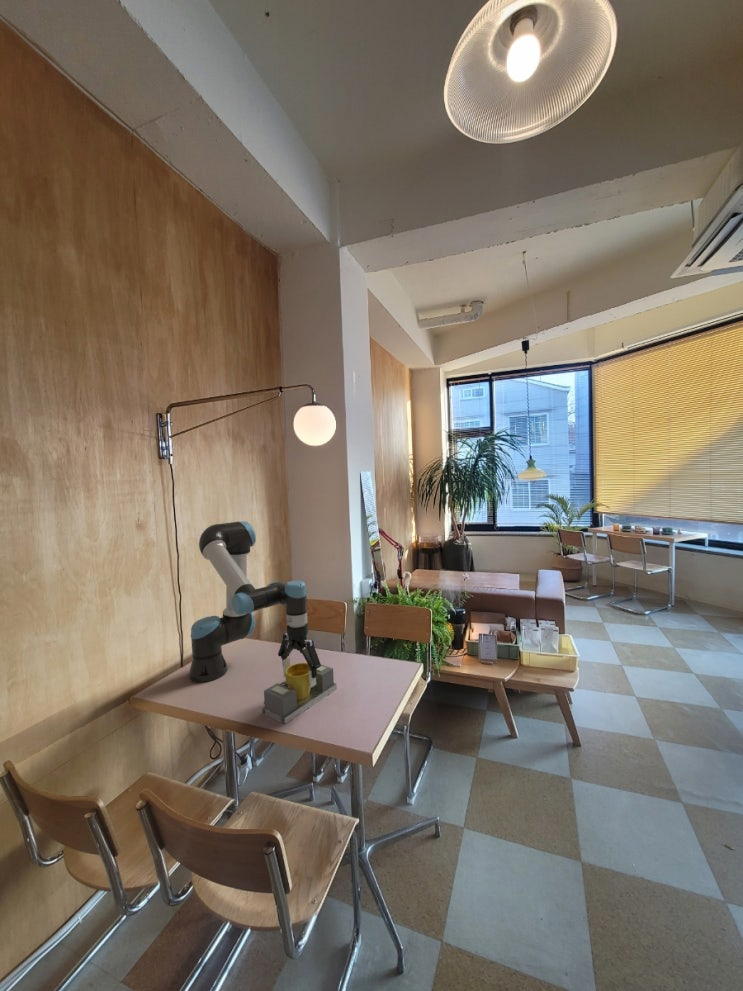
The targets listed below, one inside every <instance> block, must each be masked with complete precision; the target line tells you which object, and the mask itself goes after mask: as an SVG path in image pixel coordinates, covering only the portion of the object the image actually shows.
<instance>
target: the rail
mask: <svg viewBox="0 0 743 991" xmlns="http://www.w3.org/2000/svg"><path fill="white" fill-rule="evenodd" d="M337 689H338V686H337V683H335V682H334V684H332V685H331V686H329V687H328V688H326V689H325V690H320V689H317V688H314V687H311V689H310V694H309V696H308V697H306V698H305V699H301V700H297V708H296V709H294V710H293V711H291V712H290V713H288V714H287V715H285V716H281V715H279V714H277V713H275V712H273V711H271V710H269V709H267V708H265V705H263V706H262V707H261V713H262V714H263V715H265V716H267V717H270V718H272V719H274V720H276V721H277V722H280V723H282V724H284V725H286V724H288V723H289V722H290V721H292V720H293V719H295V718H297V717H298V716H299V715H301V714H303V712H305V711H307V710H308V709H310V708H311V707H312V706H314V705H316V704H317V703H319V702H320V701H322V700H323V699H324V698H326V697H327V696H329V695H330V694H331V693H333V692H335V691H336V690H337Z"/></svg>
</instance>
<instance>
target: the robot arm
mask: <svg viewBox="0 0 743 991" xmlns="http://www.w3.org/2000/svg"><path fill="white" fill-rule="evenodd" d="M256 536H257V535H256V533H255V529H254V527H253V526H252V524H251V523H250V522H248V521H232V522H223V523H215V524H212V525H210V526H207V528H206V529H204V530H203V532H202V533H201V534H200V537H199V542H198V548H199V551H200V554H201V555H202V557H203V559H206V560H207V561H209V562H210V564H211V565H212V567H213V568H214V569H215V571H216V573H217V574H218V575H219V577H220V578H221V580H222V582H223V583H224V584H225V585H226V589H225V591H226V592H225V594H226V596H225V597H226V598H225V600H226V603H225V604H226V605H225V606H226V607H225V608H224V609H223V611H222V616H221V617H219V616H218V615H210V616H205V617H203V618H200V619H198V620H196V621H195V622H194V623H193V624H192V625H191V627H190V628H191V629H190V640H191V651H192V652H191V653H192V655H191V656H192V659H191V660H192V661H191V663H190V664H191V665H190V667H189V671H188V678H190V679H189V680H190V681H191V680H192V681H191V682H193V681H195V682H194V683H205V681H207V682H211V680H212V681H214V680H217V679H219V678H221V677H223V676H224V675H225V674H226V673H227V672H228V664H227V661H226V660H225V657H224V655H223V652H222V646H224V645H227V644H230V643H233V642H236V641H239V640H243V639H245V638H248V637H250V636H251V635H252V634H253V633H254V630H255V629H256V628H255V627H256V619H255V615H254V612H257V611H259V610H262V609H267V608H270V607H274V606H277V605H282V606H285V614H286V633H284V634H282V640H281V643H280V647H279V650H278V653H277V656H278V657H280V658H281V659H282V660H281V661H282V668H283V677H284V678H285V670H286V669H287V668H288V667H289V666H291V658H290V654H291V652H292V651H293V650H297V651H299V653H300V654H302V656H303V658H304V659H305V662H306V663H308V665H309V667H310V669H309V687H310V688H311V687H313V686H315V685H316V677H317V668H319V667H321V665H322V664H321V662H320V658H319V655H318V653H317V650H316V648H315V643H314V639H308V638H307V635H308V633H309V630H308V604H307V599H308V598H307V587H306V585H307V584H306V582H304V581H303V580H291V581H287V582H286V583H284V582H283V581H271V582H270V583H269V584H267V585H266V586H264V587H258V588H255V587H254V585H253V584H252V583H251V581H250V579H248V577H247V572H248V571H247V568H248V567H247V566H248V564H247V560H248V559H247V556H248V555H249V554H250V553H251V547H253V546H254V545H255V544H256V540H257V539H256ZM312 664H313V666H312Z"/></svg>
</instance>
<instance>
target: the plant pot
mask: <svg viewBox="0 0 743 991" xmlns="http://www.w3.org/2000/svg"><path fill="white" fill-rule="evenodd" d="M309 669H310V667H309V665H308V663H307V662H297V663H294V664H290V666H289V667H288V668H287V669H286V670H285V677H284V678H285V683H286V682H287V683H288V684H287V685H288V688H290V689H293V690H295V691H296V695H297V700H301V699H305V698H306V697H308V696H309V694H310V689H311V688H310V687H309Z"/></svg>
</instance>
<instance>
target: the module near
mask: <svg viewBox="0 0 743 991" xmlns="http://www.w3.org/2000/svg"><path fill="white" fill-rule="evenodd" d="M263 697H264V698H263V700H264V702H263V703H264V706H265V708H267V709H269V710H271V711H273V712H275V713H277V714H279V715H281V716H285V715H287V714H288V713H290V712H291V711H293V710H294V709H296V708H297V695H296V691H295V690H293V689H290V688H289V686H288V687H287V686H285V685H282V684H281V683H275V684H273V685H271V686H270V687H268V688H266V689H264V690H263Z"/></svg>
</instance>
